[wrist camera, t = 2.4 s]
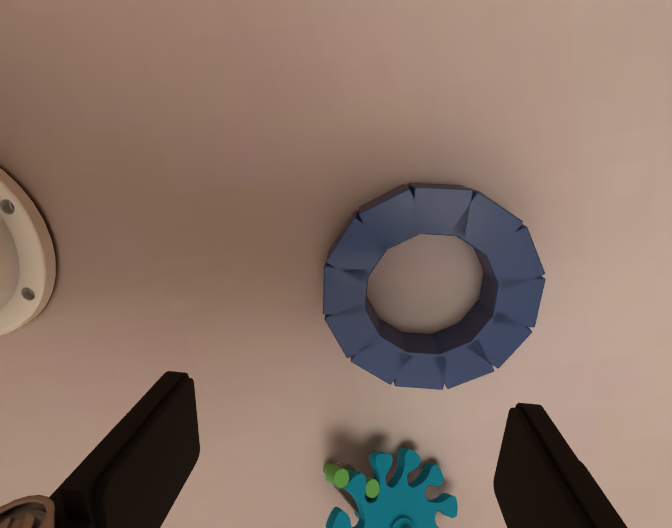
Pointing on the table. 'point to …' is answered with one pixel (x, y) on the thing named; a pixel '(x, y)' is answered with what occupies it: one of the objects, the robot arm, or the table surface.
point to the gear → (389, 494)
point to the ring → (482, 320)
